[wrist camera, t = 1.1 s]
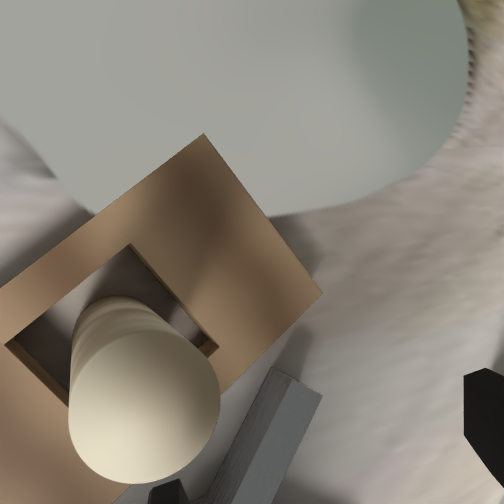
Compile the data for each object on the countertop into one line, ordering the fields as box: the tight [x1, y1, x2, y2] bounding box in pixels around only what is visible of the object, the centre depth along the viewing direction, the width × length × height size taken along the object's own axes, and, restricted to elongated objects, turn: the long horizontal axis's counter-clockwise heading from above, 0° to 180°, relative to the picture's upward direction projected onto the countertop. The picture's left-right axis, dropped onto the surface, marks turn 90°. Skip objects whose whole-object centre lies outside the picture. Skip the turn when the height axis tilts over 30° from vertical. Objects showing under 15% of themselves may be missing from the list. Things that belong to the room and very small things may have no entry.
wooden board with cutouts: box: [0, 134, 323, 504], centre depth 20 cm, size 18×10×2 cm, turn 129°
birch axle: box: [68, 295, 220, 484], centre depth 16 cm, size 4×4×10 cm
